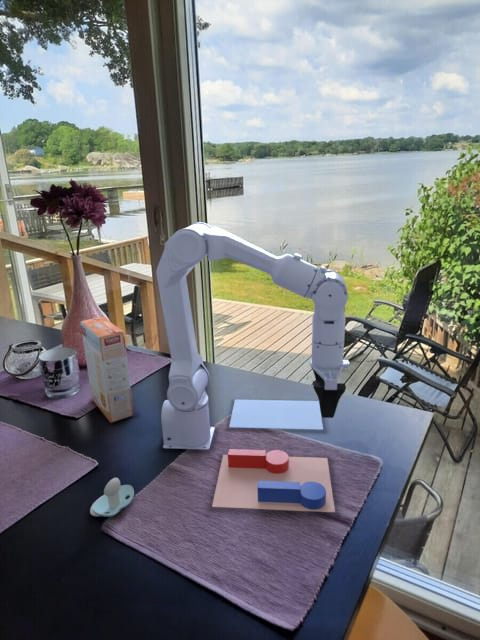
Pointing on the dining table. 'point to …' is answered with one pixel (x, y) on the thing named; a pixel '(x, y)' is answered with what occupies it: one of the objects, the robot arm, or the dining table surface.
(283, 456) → the red spoon
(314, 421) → the blue mat
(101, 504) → the pacifier
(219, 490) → the rose mat
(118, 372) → the cracker box
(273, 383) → the dining table surface
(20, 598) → the dining table surface
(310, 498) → the blue spoon
